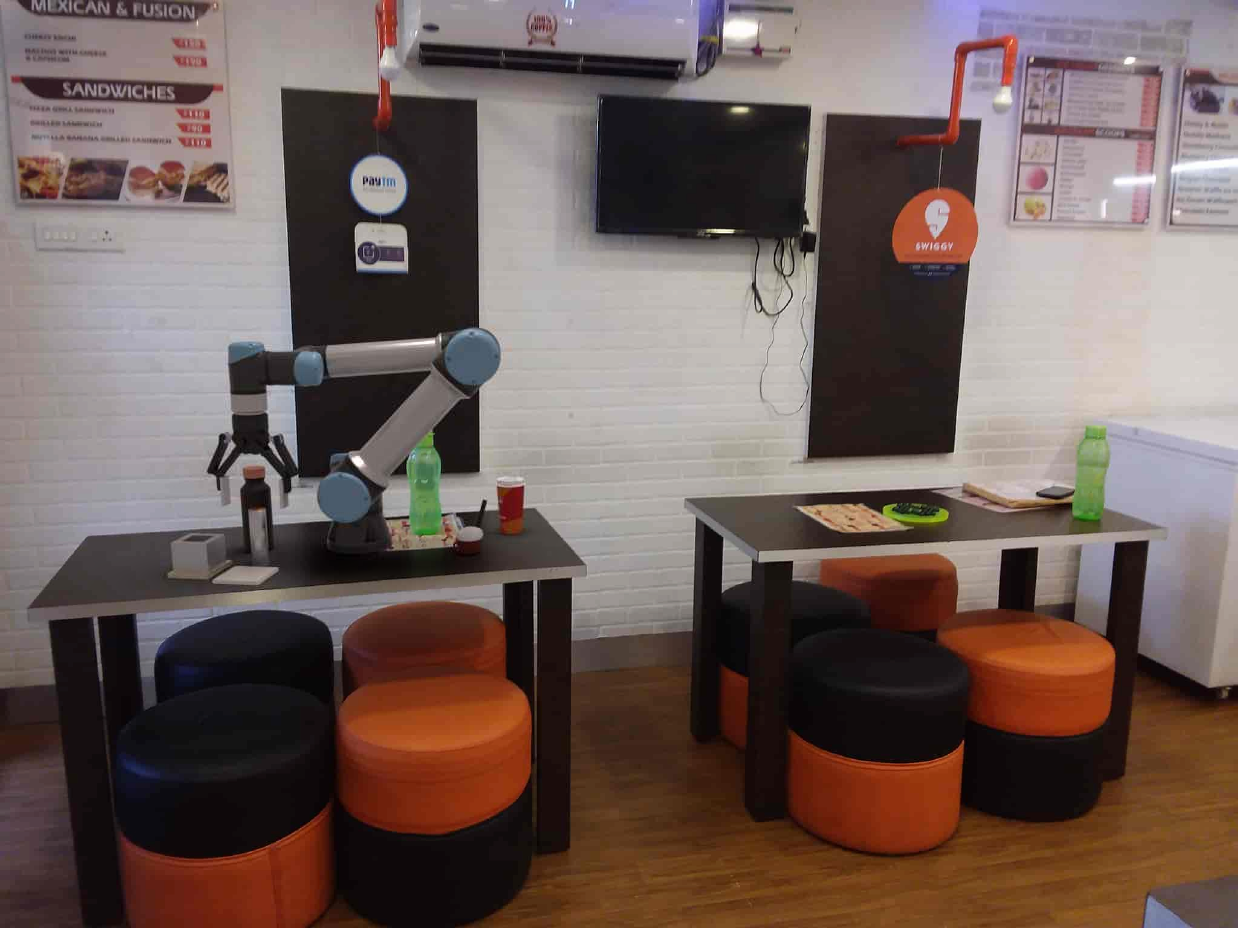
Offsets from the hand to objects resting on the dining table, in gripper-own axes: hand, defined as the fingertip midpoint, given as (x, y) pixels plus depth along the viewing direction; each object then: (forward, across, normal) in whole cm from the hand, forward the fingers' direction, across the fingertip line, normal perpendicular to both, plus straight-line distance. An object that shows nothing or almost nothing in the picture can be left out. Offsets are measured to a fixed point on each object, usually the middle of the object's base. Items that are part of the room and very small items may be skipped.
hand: (255, 506), depth 212 cm
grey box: (+14, +11, +4) cm, 18 cm away
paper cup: (+13, -51, -34) cm, 63 cm away
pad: (+14, -1, +9) cm, 16 cm away
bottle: (+14, +6, -12) cm, 19 cm away
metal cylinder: (+14, 0, 0) cm, 14 cm away
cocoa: (+14, -45, -15) cm, 50 cm away
